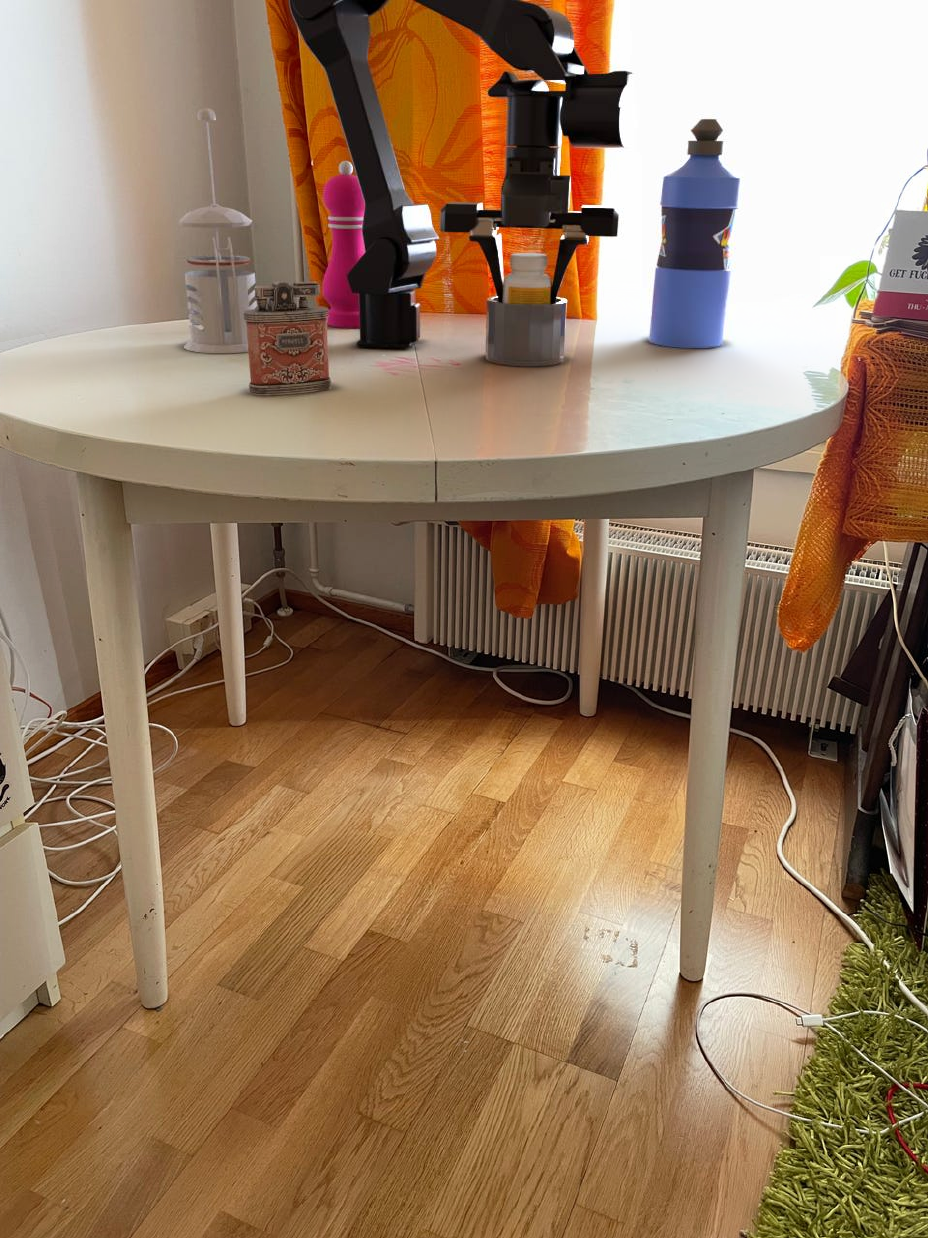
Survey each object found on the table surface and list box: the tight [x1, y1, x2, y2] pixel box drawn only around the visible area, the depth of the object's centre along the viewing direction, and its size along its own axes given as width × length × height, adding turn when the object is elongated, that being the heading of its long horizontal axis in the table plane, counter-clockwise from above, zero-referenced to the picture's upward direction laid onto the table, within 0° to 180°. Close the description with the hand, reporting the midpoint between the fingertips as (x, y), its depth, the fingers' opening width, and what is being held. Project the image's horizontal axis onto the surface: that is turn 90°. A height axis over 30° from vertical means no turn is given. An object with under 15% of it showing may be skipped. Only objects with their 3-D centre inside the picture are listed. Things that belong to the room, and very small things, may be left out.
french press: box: [177, 107, 258, 354], centre depth 111 cm, size 10×12×25 cm
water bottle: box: [648, 118, 744, 349], centre depth 119 cm, size 9×9×25 cm
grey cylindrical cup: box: [485, 295, 568, 368], centre depth 111 cm, size 9×9×6 cm
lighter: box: [243, 280, 332, 396], centre depth 93 cm, size 8×3×10 cm, turn 117°
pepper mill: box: [321, 160, 365, 329], centre depth 129 cm, size 7×7×20 cm
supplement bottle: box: [503, 252, 553, 304], centre depth 109 cm, size 5×5×10 cm
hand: (526, 303), depth 109 cm, fingers closed on supplement bottle, 5 cm apart
